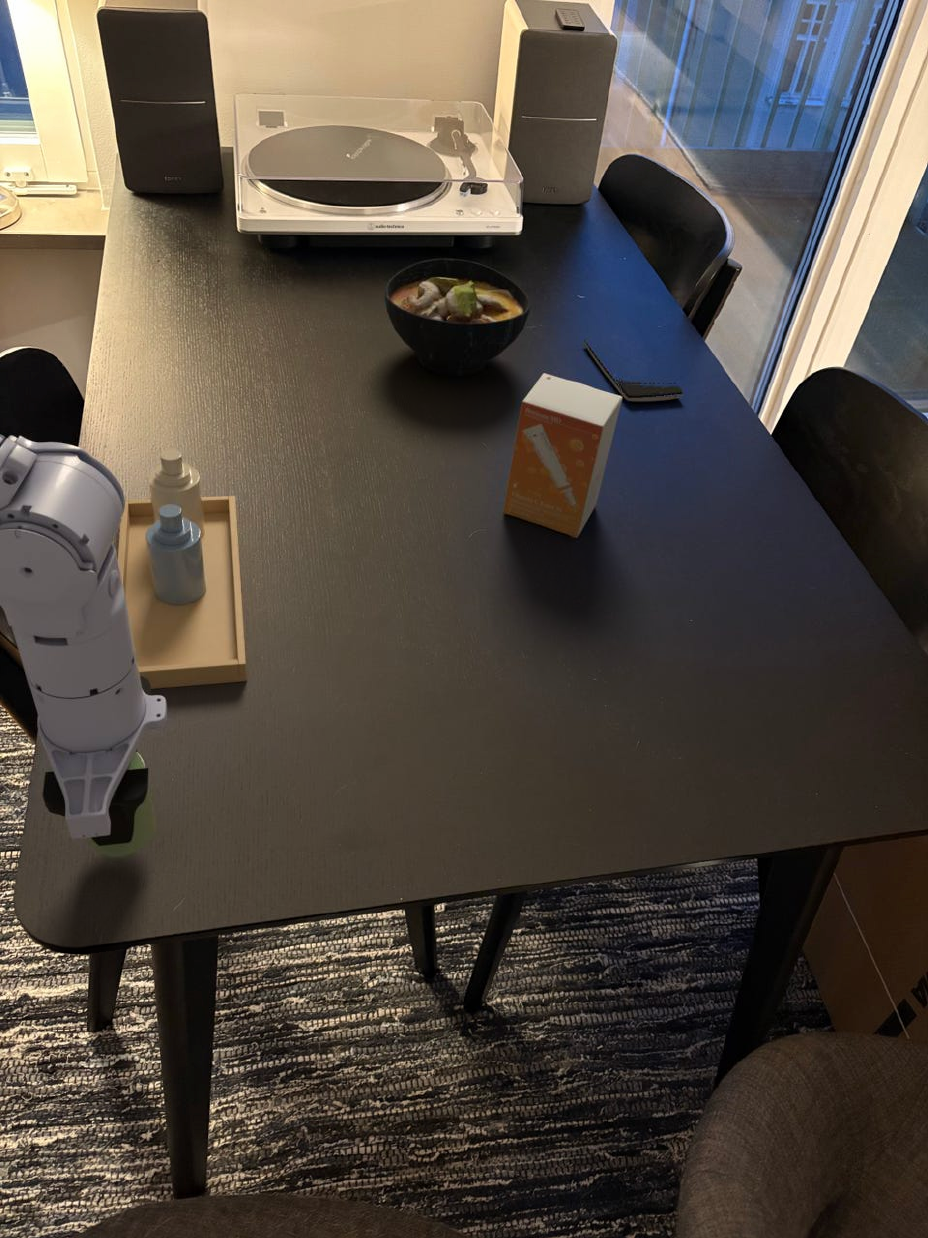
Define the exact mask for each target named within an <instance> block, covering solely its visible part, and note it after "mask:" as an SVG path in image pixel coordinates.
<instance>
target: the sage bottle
mask: <svg viewBox="0 0 928 1238" xmlns="http://www.w3.org/2000/svg"><path fill="white" fill-rule="evenodd" d="M141 768H147V767H146V763H145V761H144V758H143V757H142V755H141V754H140V753H139V752H138V751H137V752H135V754H134V756H133V758H132V760H131V761H130V763H129V765H128V767H127V769H126V770H131V769H141ZM154 808H155V807H154V802H153V798H152V792H151V787H150V783H149V781H148V790H147V794H146V797H145V800H144V802H143V803H142V804H141V805H140V806H139V807H138V808H137V810H136V812H135V818H134V833H133V837H132V840H131V842H130V843H123V844H114V845H105V846H98V845H97V844H96V843H95V842H94V841H93V840H92V839H91V838H86V840H87V843H88V845H89V847H90V848H91V849H92V850H93V851H95V852H96V853H98V854H99V855H101V856H104V857H108V858H121V857H122V858H123V857H127V856H130V855H133V854H135V853H137V852H138V851H141V850H142V849H143V848H145V847H146V846H147V845H148V844H149V843H150V842H151V840H152V839H153V837H154V835H155V834H156V829H157V818H156V812H155V809H154Z"/></svg>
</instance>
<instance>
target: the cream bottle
mask: <svg viewBox="0 0 928 1238" xmlns="http://www.w3.org/2000/svg"><path fill="white" fill-rule="evenodd" d="M159 458H160V463H159V464H158V465H156V467H155V468H153V469H152V470H151V471H150V472H149V473H148V476H147V484H148V485H147V486H148V491H149V497H150V498H149V499H151V505H152V512H153V518H154V523H155V522H156V521H157V520H158V519H159V513H158V512H159V509H160V508H161V507H162V506H164V505H168V504H174V505H177V506H179V507H180V508H181V510H182V517H184V518H186V519H188V520H190V521H192V522H193V523H195V524H196V525H197V526H198V527H199V529H200V531H201V538H202V536H203V535H204V533H205V523H204V513H203V504H202V497H203V496H202V485H201V478H200V473H199V471H198V469H196V468H195V467H193V466H191V465H189V464H188V463H187V462H185V461H183V455H182V452H181V450H180V449H179V450H178V449H177V448H167V449H164V450H162V451H161V452H160V454H159Z"/></svg>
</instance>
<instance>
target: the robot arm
mask: <svg viewBox="0 0 928 1238" xmlns="http://www.w3.org/2000/svg"><path fill="white" fill-rule="evenodd" d="M124 508H125V494H124V490H123V488H122V486H121V484H120V482H119V480H118V479H117V477H116V476H115V475H114V473H113V472H112V471H111V470H110V469H109V468H108V467H107V466H106V465H105V464H103V463H102V462H101V461H99V460H98V459H96V458H95V457H93V456H92V455H91V454H90V453H89V452H87V451H86V450H85V449H84V448H82V447H80V446H77V445H73V444H69V443H63V442H57V441H55V442H54V441H47V442H36V441H32V440H30V439H27V438H26V437H24V436H22V435H19V436H18V437H16V436H14V435H9V436H8V437H7V438H6V437H5V436H4V435H2V434H0V607H1V608H2V610H3V611H4V615H5V618H6V621H7V624H8V626H9V627H11V630H12V633H13V637H14V639H15V643H16V646H17V649H18V653H19V656H20V660H21V663H22V666H23V669H24V672H25V677H26V680H27V683H28V687H29V689H30V693H31V695H32V699H33V703H34V706H35V709H36V713H37V722H36V723H37V729H38V733H39V736H40V740H41V743H42V745H43V747H44V750H45V752H46V756H47V757H48V759H49V762H50V765H51V768H52V770H53V771H45V773H44V780H43V787H42V799H43V802H44V805H45V807H46V809H47V810H48V812H49V813H51V814H54V815H57V816H61V817H64V820H65V823H66V826H67V829H68V833H69V836H70V839H71V840H79V839H87V838H91V839H92V840H93V841H94V842H95V843H96V844H97V845H98V846H105V845H114V844H123V843H130V842H131V840H132V837H133V833H134V818H135V812H136V810H137V808H138V807H139V806H140V805H141V804H142V803H143V802H144V800H145V797H146V794H147V790H148V782H149V767H146V768H141V769H131V770H126V769H127V767H128V765H129V763H130V761H131V760H132V758H133V756H134V754H135V752H137V753H138V748H139V746H140V743H141V742H142V740H143V738H144V736H145V734H146V733H147V732H148V731H149V730H153V729H159V728H163V727H164V726H165V725H166V724H167V722H168V705H167V700H166V697H164V696H163V695H160V694H159V695H157V694H155V695H152V689H151V686H150V682H149V680H148V679H147V678H145V677H143V676H140V674H139V669H138V664H137V659H136V653H135V647H134V642H133V636H132V631H131V625H130V620H129V614H128V609H127V604H126V598H125V592H124V588H123V584H122V580H121V575H120V570H119V564H118V552H117V549H116V547H115V546H114V545H113V542H114V539H115V537H116V535H117V533H118V530H119V529H120V524H121V521H122V515H123V512H124Z"/></svg>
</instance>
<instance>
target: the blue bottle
mask: <svg viewBox="0 0 928 1238" xmlns="http://www.w3.org/2000/svg"><path fill="white" fill-rule="evenodd" d="M158 513H159V519H158V520H157V521H156V522H155V523H154V524H153V525H151V526H150V527H149V528H148V530H147V532H146V535H145V539H146V545H147V551H148V557H149V564H150V570H151V576H152V582H153V589H154V593H155V595H156V597H157V598H158V599H159V600H160V601H162V602H164V603H166V604H170V605H186V604H190V603H193V602H195V601H197V600H198V599H200V598H201V597H202V596H203V595H204V593H205V591H206V588H207V584H206V575H205V566H204V557H203V548H202V539H201V531H200V529H199V527H198V526H197V525H196V524H195V523H193V522H192V521H190V520H188V519H186V518H184V517H182V510H181V508H180V507H179V506H177V505H174V504H168V505H164V506H162V507H161V508H160V509H159V512H158Z"/></svg>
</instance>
